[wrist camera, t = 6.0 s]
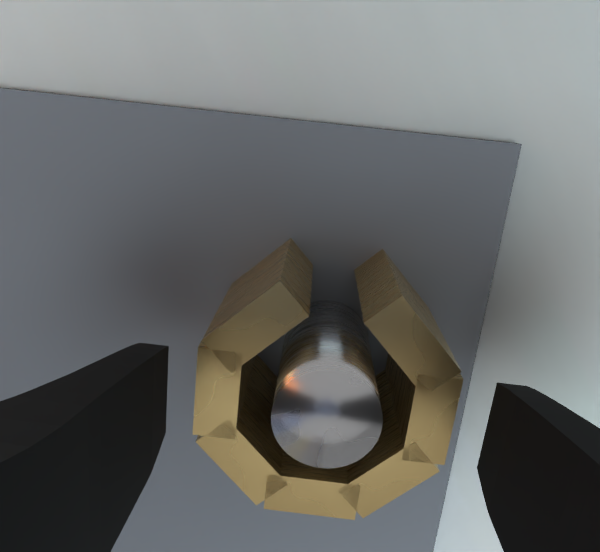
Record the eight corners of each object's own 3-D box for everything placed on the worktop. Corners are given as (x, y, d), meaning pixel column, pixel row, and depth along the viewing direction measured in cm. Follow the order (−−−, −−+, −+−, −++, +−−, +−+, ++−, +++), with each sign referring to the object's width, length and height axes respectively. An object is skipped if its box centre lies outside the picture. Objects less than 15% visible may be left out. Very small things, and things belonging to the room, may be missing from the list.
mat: (414, 615, 18) (416, 626, 17) (18, 569, 18) (12, 579, 18) (516, 143, 13) (521, 144, 13) (-13, 86, 13) (-23, 86, 13)
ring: (406, 435, 15) (430, 529, 12) (218, 412, 15) (188, 499, 12) (441, 255, 14) (480, 305, 10) (232, 230, 14) (202, 271, 10)
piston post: (361, 380, 15) (374, 474, 11) (281, 371, 15) (266, 462, 11) (372, 304, 14) (390, 377, 10) (288, 295, 14) (275, 363, 10)
